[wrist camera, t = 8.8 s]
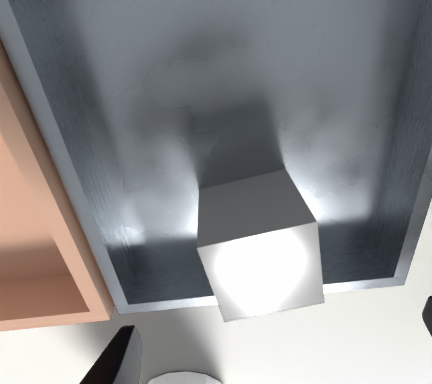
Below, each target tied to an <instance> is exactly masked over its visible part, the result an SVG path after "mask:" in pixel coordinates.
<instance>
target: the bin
mask: <svg viewBox="0 0 432 384" xmlns="http://www.w3.org/2000/svg"><path fill="white" fill-rule="evenodd" d="M0 38H1V40H2V42H3V45H4V47H5V49H6V52H7V54H8V56H9V59H10V61H11V63H12V66H13V68H14V70H15V73H16V75H17V77H18V80H19V82H20V84H21V87H22V89H23V91H24V94H25V96H26V98H27V101H28V103H29V105H30V108H31V110H32V112H33V115H34V117H35V119H36V122H37V124H38V126H39V129H40V131H41V133H42V136H43V138H44V140H45V143H46V145H47V147H48V150H49V152H50V154H51V157H52V159H53V161H54V164H55V166H56V168H57V171H58V173H59V175H60V178H61V180H62V182H63V185H64V187H65V189H66V192H67V194H68V196H69V199H70V201H71V203H72V206H73V208H74V210H75V213H76V215H77V217H78V220H79V222H80V224H81V227H82V229H83V231H84V234H85V236H86V238H87V241H88V243H89V245H90V248H91V250H92V252H93V255H94V257H95V259H96V262H97V264H98V266H99V269H100V271H101V273H102V276H103V278H104V280H105V283H106V285H107V287H108V290H109V292H110V294H111V297H112V299H113V301H114V304H115V306H116V308H117V311H118V313H119V314H128V313H138V312H148V311H157V310H167V309H177V308H186V307H196V306H206V305H216V304H217V301H216V298H215V296H214V293H213V290H212V288H211V285H210V282H209V280H208V277H207V274H206V272H205V269H204V266H203V264H202V261H201V258H200V256H199V253H198V250H197V228H198V201H199V190H200V189H205V188H209V187H213V186H217V185H221V184H225V183H230V182H234V181H238V180H242V179H246V178H250V177H255V176H259V175H263V174H267V173H271V172H275V171H280V170H284V169H286V170H287V172H288V174H289V175H290V177H291V179H292V180H293V182H294V184H295V185H296V187H297V189H298V190H299V192H300V194H301V195H302V197H303V199H304V200H305V202H306V204H307V205H308V207H309V209H310V210H311V212H312V214H313V215H314V217H315V219H316V220H317V224H318V235H319V246H320V257H321V269H322V280H323V291H324V293H332V292H342V291H352V290H361V289H371V288H381V287H391V286H400V285H404V284H405V281H406V277H407V274H408V271H409V268H410V265H411V262H412V259H413V255H414V252H415V249H416V246H417V243H418V240H419V236H420V233H421V230H422V227H423V224H424V221H425V218H426V214H427V211H428V208H429V205H430V202H431V199H432V0H0Z"/></svg>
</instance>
